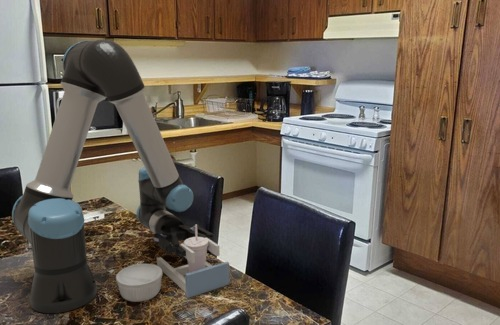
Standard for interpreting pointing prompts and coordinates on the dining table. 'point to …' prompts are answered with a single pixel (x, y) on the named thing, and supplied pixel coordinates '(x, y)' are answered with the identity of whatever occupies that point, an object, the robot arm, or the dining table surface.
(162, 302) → the dining table surface
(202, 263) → the smoothie
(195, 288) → the drawer frame
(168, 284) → the dining table surface
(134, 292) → the ramekin
